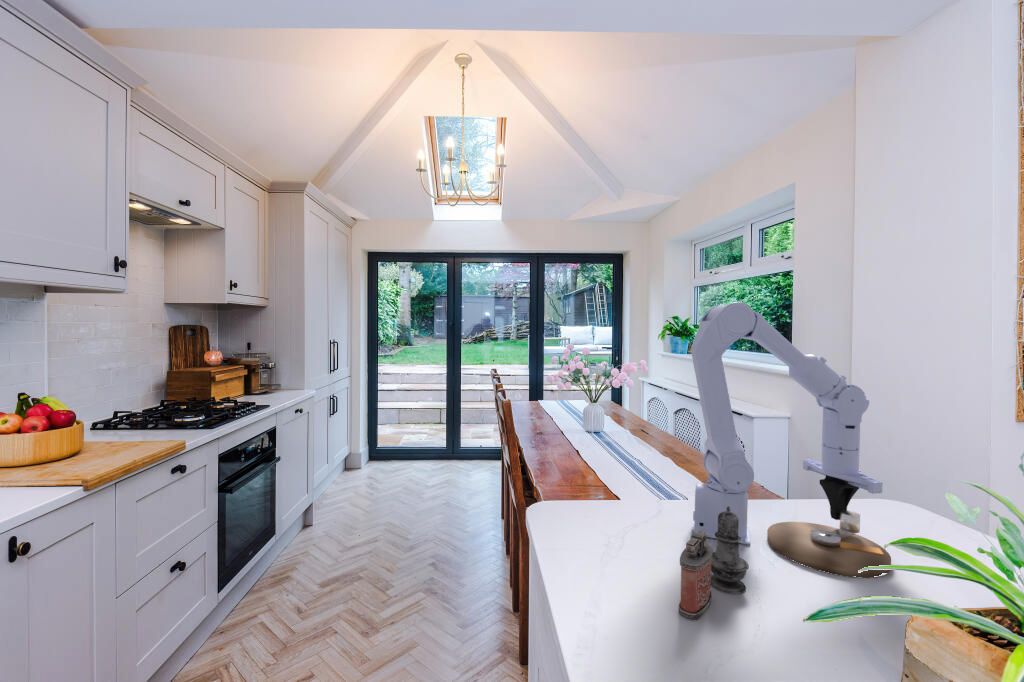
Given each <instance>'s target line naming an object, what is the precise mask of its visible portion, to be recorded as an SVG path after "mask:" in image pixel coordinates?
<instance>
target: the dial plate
mask: <svg viewBox="0 0 1024 682" xmlns="http://www.w3.org/2000/svg"><path fill="white" fill-rule="evenodd" d="M812 529H823V530H828V531H832V530H836V529H839V528H838V527H835V526H829V525H825V524H821V523H812V522H805V521H782V522H777V523H773V524H771V525H770V526H769V527H768V529H767V530H766V531H767V534H766V536H767V537H766V540H767V541H766V542H767V543H768V545H769V546H770V547H771V549H772V550H774V551H775V552H776V551H777V552H776V553H778V554H779V553H780V554H779V555H781V556H782V555H783V556H782V557H784V556H786V557H787V558H786V557H785V558H786V559H788V558H789V559H788V560H790V559H791V560H790V561H792V560H794V561H796V562H798V563H797V564H799V563H800V564H799V565H801V564H803V565H802V566H804V565H805V566H804V567H806V566H808V567H807V568H809V567H811V568H810V569H812V568H813V570H815V569H816V571H819V570H821V571H820V572H822V571H825V572H824V573H826V572H829V573H828V574H830V573H832V574H831V575H835V574H837V575H836V576H840V575H842V576H841V577H846V576H848V578H854V577H853V576H856V577H862V578H861V579H870V578H869V577H874V576H879V575H881V574H882V573H888V574H889V573H890V572H891V570H868V571H863V572H861V573H858V570H860V569H862V568H864V567H868V566H879V565H891V566H892V556H891V555H890V553H889V552H888V551H887V550H886V549H885V548H884V547H882V546H881V545H880V544H878V543H876V542H874V541H873V540H870V539H868V538H867V537H864V536H861V535H859V534H858V533H855V535H853V536H849V537H845V538H842V539H841V545H840V546H837V547H831V546H825V545H822V544H819V543H816V542H814V541H813V540H812V539H811V530H812ZM883 548H884V549H883ZM794 561H793V562H794ZM796 562H795V563H796Z"/></svg>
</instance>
